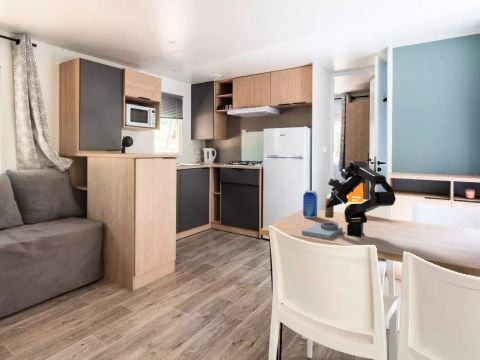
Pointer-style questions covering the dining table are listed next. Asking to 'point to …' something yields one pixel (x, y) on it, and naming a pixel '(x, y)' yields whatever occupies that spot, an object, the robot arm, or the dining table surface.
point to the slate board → (323, 230)
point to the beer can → (310, 204)
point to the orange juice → (355, 195)
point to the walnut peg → (329, 209)
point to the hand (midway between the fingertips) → (326, 206)
